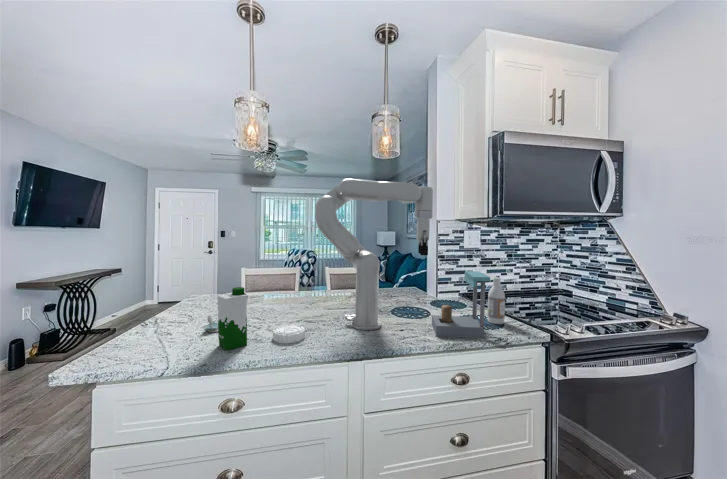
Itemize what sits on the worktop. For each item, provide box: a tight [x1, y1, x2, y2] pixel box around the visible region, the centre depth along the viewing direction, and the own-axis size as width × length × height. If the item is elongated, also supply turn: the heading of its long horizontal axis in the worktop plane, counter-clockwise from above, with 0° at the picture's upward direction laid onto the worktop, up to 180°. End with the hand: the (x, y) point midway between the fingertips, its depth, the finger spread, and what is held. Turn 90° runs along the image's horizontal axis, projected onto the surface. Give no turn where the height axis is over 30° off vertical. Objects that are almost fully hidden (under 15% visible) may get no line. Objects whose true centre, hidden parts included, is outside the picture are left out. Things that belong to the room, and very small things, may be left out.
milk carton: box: [216, 286, 249, 351], centre depth 108 cm, size 9×9×20 cm
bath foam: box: [487, 276, 506, 325], centre depth 137 cm, size 7×7×20 cm
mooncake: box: [272, 324, 306, 344], centre depth 117 cm, size 12×12×4 cm
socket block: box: [431, 314, 485, 339], centre depth 125 cm, size 18×14×4 cm
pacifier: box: [204, 315, 218, 333], centre depth 124 cm, size 7×6×6 cm
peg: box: [441, 304, 453, 323], centre depth 126 cm, size 4×4×10 cm
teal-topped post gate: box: [464, 270, 491, 328], centre depth 124 cm, size 6×15×24 cm, turn 174°
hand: (422, 254), depth 135 cm, fingers open, 9 cm apart
